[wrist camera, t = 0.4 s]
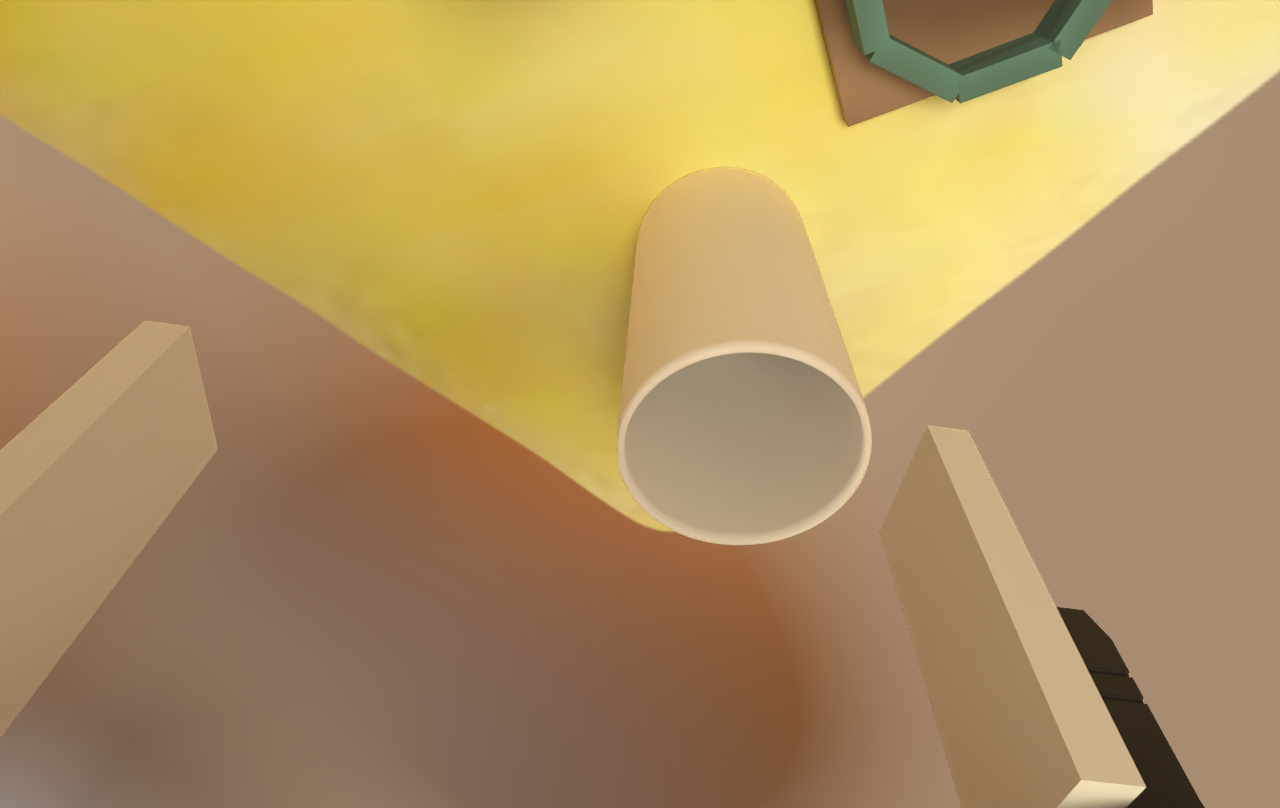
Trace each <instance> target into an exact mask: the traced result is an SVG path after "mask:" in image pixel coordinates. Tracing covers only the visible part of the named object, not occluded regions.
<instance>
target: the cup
mask: <svg viewBox="0 0 1280 808" xmlns="http://www.w3.org/2000/svg"><path fill="white" fill-rule="evenodd" d="M871 440H872V438H871V430H870V422H869V417H868V413H867V409H866V406H865V403H864V400H863V397H862V395H861V392H860V389H859V386H858V383H857V380H856V377H855V374H854V371H853V368H852V365H851V362H850V359H849V356H848V353H847V350H846V347H845V344H844V341H843V338H842V335H841V332H840V330H839V327H838V324H837V321H836V318H835V315H834V312H833V309H832V306H831V303H830V300H829V297H828V294H827V291H826V288H825V285H824V282H823V280H822V277H821V274H820V271H819V268H818V265H817V262H816V259H815V256H814V253H813V250H812V247H811V244H810V241H809V238H808V235H807V233H806V230H805V227H804V224H803V221H802V218H801V216H800V213H799V211H798V209H797V207H796V205H795V204H794V202H793V201H792V200H791V198H790V197H789V196H788V195H787V193H786V192H785V191H784V190H782V189H781V188H780V187H779V186H778V185H777V184H775V183H774V182H773V181H771V180H769V179H768V178H766V177H764V176H762V175H760V174H757V173H755V172H752V171H748V170H744V169H739V168H731V167H719V168H710V169H705V170H701V171H697V172H694V173H691V174H689V175H687V176H685V177H683V178H681V179H679V180H677V181H676V182H674V183H673V184H671V185H670V186H669V187H667V188H666V189H665V190H664V191H663V192H662V193H661V194H660V195H659V196H658V197H657V198H656V199H655V200H654V202H653V203H652V204H651V206H650V207H649V209H648V210H647V212H646V214H645V216H644V218H643V220H642V223H641V226H640V229H639V233H638V238H637V246H636V256H635V266H634V275H633V285H632V295H631V304H630V314H629V324H628V333H627V343H626V353H625V362H624V372H623V382H622V391H621V401H620V411H619V421H618V432H617V455H618V464H619V468H620V472H621V475H622V478H623V481H624V483H625V485H626V487H627V489H628V491H629V492H630V494H631V495H632V497H633V498H634V500H635V501H636V502H637V503H638V504H639V506H640V507H641V508H642V509H643V510H644V511H645V512H646V513H648V514H649V515H650V516H651V517H652V518H654V519H655V520H656V521H658V522H659V523H661V524H662V525H664V526H666V527H668V528H669V529H671V530H673V531H675V532H678V533H680V534H682V535H685V536H688V537H690V538H694V539H697V540H701V541H705V542H710V543H716V544H724V545H753V544H762V543H768V542H773V541H777V540H781V539H785V538H788V537H791V536H794V535H796V534H799V533H802V532H804V531H806V530H808V529H810V528H812V527H814V526H816V525H817V524H819V523H821V522H823V521H824V520H825V519H827V518H828V517H829V516H831V515H832V514H834V513H835V512H836V511H837V510H838V509H839V508H841V507H842V505H844V504H845V503H846V502H847V500H848V499H849V498H850V497H851V496H852V494H853V493H854V492H855V490H856V489H857V487H858V486H859V484H860V482H861V480H862V479H863V477H864V474H865V472H866V469H867V467H868V463H869V459H870V454H871Z"/></svg>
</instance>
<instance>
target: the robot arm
mask: <svg viewBox="0 0 1280 808" xmlns="http://www.w3.org/2000/svg"><path fill="white" fill-rule="evenodd" d="M217 450H218V447H217V442H216V438H215V434H214V429H213V425H212V420H211V416H210V412H209V407H208V403H207V399H206V394H205V390H204V385H203V381H202V377H201V372H200V368H199V363H198V359H197V354H196V350H195V346H194V341H193V337H192V333H191V328H190V326H185V325H176V324H170V323H162V322H154V321H147V320H144V322H143V323H141V324H140V325H139V326H138V327H137V328H136V329H134V330H133V331H132V332H131V333H130V334H129V335H128V336H127V337H126V338H124V339H123V340H122V341H121V342H120V343H119V344H118V345H117V346H116V347H115V348H113V349H112V350H111V351H110V352H109V353H108V354H107V355H106V356H104V357H103V358H102V359H101V360H100V361H99V362H98V363H97V364H96V365H94V366H93V367H92V368H91V369H90V370H89V371H88V372H87V373H86V374H84V375H83V376H82V377H81V378H80V379H79V380H78V381H77V382H76V383H75V384H73V385H72V386H71V387H70V388H69V389H68V390H67V391H66V392H64V393H63V394H62V395H61V396H60V397H59V398H58V399H57V400H56V401H54V402H53V403H52V404H51V405H50V406H49V407H48V408H47V409H46V410H45V411H43V412H42V413H41V414H40V415H39V416H38V417H37V418H36V419H35V420H34V421H32V422H31V423H30V424H29V425H28V426H27V427H26V428H24V430H22V431H21V432H20V433H19V434H18V435H17V436H16V437H14V438H13V439H12V440H11V441H10V442H9V443H8V444H7V445H6V446H5V447H3V448H2V449H1V450H0V738H1V736H2V735H3V734H4V732H5V731H6V730H7V728H8V727H9V725H10V724H11V723H12V722H13V720H14V719H15V718H16V716H17V715H18V714H19V712H20V711H21V709H22V708H23V707H24V706H25V704H26V703H27V702H28V700H29V699H30V698H31V696H32V695H33V694H34V692H35V691H36V690H37V688H38V687H39V686H40V684H41V683H42V682H43V680H44V679H45V678H46V676H47V675H48V674H49V672H50V671H51V670H52V668H53V667H54V666H55V665H56V663H57V662H58V661H59V659H60V658H61V657H62V655H63V654H64V653H65V651H66V650H67V649H68V647H69V646H70V644H71V643H72V642H73V641H74V639H75V638H76V636H77V635H78V634H79V633H80V631H81V630H82V629H83V627H84V626H85V625H86V623H87V622H88V621H89V619H90V618H91V617H92V615H93V614H94V613H95V611H96V610H97V609H98V607H99V606H100V605H101V603H102V602H103V601H104V600H105V598H106V597H107V596H108V594H109V593H110V592H111V590H112V589H113V588H114V586H115V585H116V584H117V582H118V581H119V579H120V578H121V577H122V576H123V574H124V573H125V572H126V570H127V569H128V568H129V566H130V565H131V564H132V562H133V561H134V560H135V558H136V557H137V556H138V554H139V553H140V552H141V550H142V549H143V548H144V546H145V545H146V544H147V542H148V541H149V540H150V539H151V537H152V536H153V534H154V533H155V532H156V531H157V529H158V528H159V526H160V525H161V524H162V522H163V521H164V520H165V519H166V517H167V516H168V515H169V513H170V512H171V511H172V509H173V508H174V507H175V505H176V504H177V503H178V501H179V500H180V499H181V497H182V496H183V495H184V493H185V492H186V491H187V489H188V488H189V487H190V485H191V484H192V483H193V481H194V480H195V479H196V477H197V476H198V475H199V474H200V472H201V471H202V469H203V468H204V467H205V466H206V464H207V463H208V462H209V460H210V459H211V458H212V456H213V455H214V454H215V452H216V451H217ZM880 536H881V539H882V543H883V546H884V550H885V553H886V556H887V559H888V563H889V566H890V570H891V573H892V576H893V579H894V583H895V587H896V590H897V593H898V597H899V600H900V603H901V607H902V610H903V613H904V617H905V620H906V623H907V627H908V630H909V634H910V637H911V640H912V643H913V647H914V650H915V654H916V657H917V660H918V664H919V667H920V670H921V674H922V677H923V681H924V684H925V687H926V691H927V694H928V697H929V701H930V704H931V707H932V711H933V714H934V718H935V721H936V724H937V728H938V731H939V734H940V738H941V741H942V744H943V748H944V751H945V754H946V758H947V761H948V764H949V768H950V771H951V774H952V778H953V781H954V785H955V788H956V791H957V795H958V798H959V801H960V805H961V808H1205V807H1204V806H1203V804H1202V803H1201V801H1200V800H1199V798H1198V796H1197V794H1196V793H1195V791H1194V789H1193V787H1192V785H1191V783H1190V782H1189V780H1188V778H1187V776H1186V774H1185V772H1184V771H1183V769H1182V767H1181V765H1180V763H1179V762H1178V760H1177V758H1176V756H1175V754H1174V753H1173V751H1172V749H1171V747H1170V745H1169V743H1168V741H1167V740H1166V738H1165V736H1164V735H1163V732H1162V731H1161V729H1160V727H1159V725H1158V723H1157V722H1156V720H1155V718H1154V716H1153V714H1152V712H1151V711H1150V709H1149V707H1148V706H1147V704H1144V703H1143V696H1142V694H1141V692H1140V690H1139V689H1138V687H1137V685H1136V683H1135V681H1134V680H1133V678H1130V677H1129V675H1128V673H1129V670H1128V669H1127V667H1126V665H1125V663H1124V662H1123V660H1122V658H1121V656H1120V654H1119V652H1118V650H1117V649H1116V647H1115V645H1114V643H1113V641H1112V640H1111V639H1110V637H1109V636H1107V634H1106V633H1105V632H1104V631H1103V630H1102V629H1101V628H1100V627H1099V626H1098V625H1097V624H1096V623H1095V622H1094V621H1093V620H1092V619H1091V618H1090V617H1089V616H1088V615H1087V614H1086V613H1085V611H1084V610H1076V609H1069V608H1060V607H1056V606H1055V604H1054V602H1053V600H1052V598H1051V596H1050V594H1049V592H1048V590H1047V588H1046V586H1045V584H1044V582H1043V580H1042V578H1041V576H1040V574H1039V572H1038V570H1037V568H1036V566H1035V564H1034V562H1033V560H1032V558H1031V556H1030V554H1029V552H1028V550H1027V548H1026V546H1025V544H1024V542H1023V540H1022V538H1021V536H1020V534H1019V532H1018V530H1017V528H1016V526H1015V524H1014V522H1013V520H1012V518H1011V516H1010V514H1009V512H1008V510H1007V508H1006V506H1005V504H1004V502H1003V500H1002V498H1001V496H1000V494H999V492H998V490H997V488H996V486H995V484H994V482H993V480H992V478H991V476H990V474H989V472H988V470H987V468H986V466H985V464H984V462H983V460H982V458H981V456H980V454H979V452H978V450H977V448H976V446H975V444H974V442H973V440H972V438H971V436H970V434H969V432H968V431H967V430H960V429H953V428H945V427H938V426H930V425H927V426H926V429H925V431H924V433H923V435H922V438H921V440H920V442H919V444H918V447H917V449H916V451H915V454H914V456H913V458H912V460H911V463H910V465H909V467H908V470H907V472H906V474H905V476H904V479H903V481H902V483H901V485H900V487H899V490H898V492H897V494H896V497H895V499H894V501H893V503H892V505H891V508H890V510H889V512H888V514H887V517H886V519H885V521H884V524H883V526H882V528H881V530H880Z"/></svg>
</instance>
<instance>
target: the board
mask: <svg viewBox="0 0 1280 808" xmlns="http://www.w3.org/2000/svg"><path fill="white" fill-rule="evenodd" d="M815 4H816V8H817V12H818V17H819V21H820V25H821V29H822V33H823V37H824V41H825V45H826V49H827V54H828V58H829V62H830V66H831V70H832V74H833V78H834V82H835V86H836V90H837V95H838V99H839V103H840V107H841V111H842V115H843V119H844V121H845V122H846V124H847V126H848V127H849V126H852V125H855V124H857V123H860V122H863V121H865V120H868V119H871V118H874V117H876V116H879V115H882V114H884V113H887V112H890V111H893V110H895V109H898V108H901V107H903V106H906V105H909V104H912V103H914V102H917V101H920V100H922V99H925V98H928V97H930V96H933V95H937V96H939V97H941V98H943V99H945V100H947V101H949V102H951V103H953V101H954V100H955V99H956V100H957V101H959V102H960V103H962V102H965V101H968V100H971V99H973V98H976V97H979V96H982V95H984V94H987V93H990V92H993V91H995V90H998V89H1001V88H1004V87H1006V86H1009V85H1012V84H1015V83H1017V82H1020V81H1023V80H1026V79H1028V78H1031V77H1034V76H1037V75H1039V74H1042V73H1045V72H1048V71H1050V70H1053V69H1056V68H1059V67H1061V66H1062V56H1064V57H1065V58H1067V59H1069V60H1071V58H1072V57H1073V55H1074V54H1075V53H1076V51H1077V50H1078V48H1079V47H1080V45H1081V44H1082V43H1083V41H1084V40H1085V39H1088V38H1090V37H1093V36H1096V35H1098V34H1101V33H1104V32H1107V31H1109V30H1112V29H1115V28H1117V27H1120V26H1123V25H1126V24H1128V23H1131V22H1134V21H1136V20H1139V19H1142V18H1144V17H1147V16H1150V15H1153V2H1152V0H815ZM1061 55H1062V56H1061Z"/></svg>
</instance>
